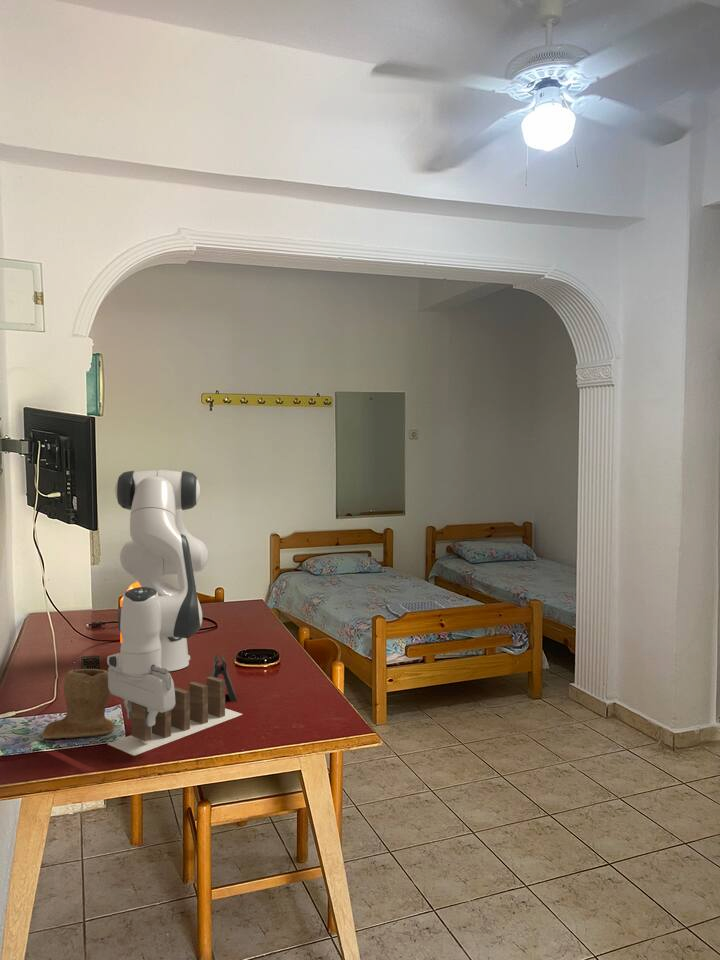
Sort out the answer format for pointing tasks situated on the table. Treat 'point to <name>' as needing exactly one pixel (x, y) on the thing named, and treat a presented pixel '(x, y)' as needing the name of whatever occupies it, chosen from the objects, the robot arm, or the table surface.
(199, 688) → the domino
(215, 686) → the domino
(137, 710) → the domino
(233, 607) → the table surface
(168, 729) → the domino
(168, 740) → the board
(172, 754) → the table surface
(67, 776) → the table surface
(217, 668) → the dark grey a-frame stand
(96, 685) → the brown boot
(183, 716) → the domino
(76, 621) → the table surface
